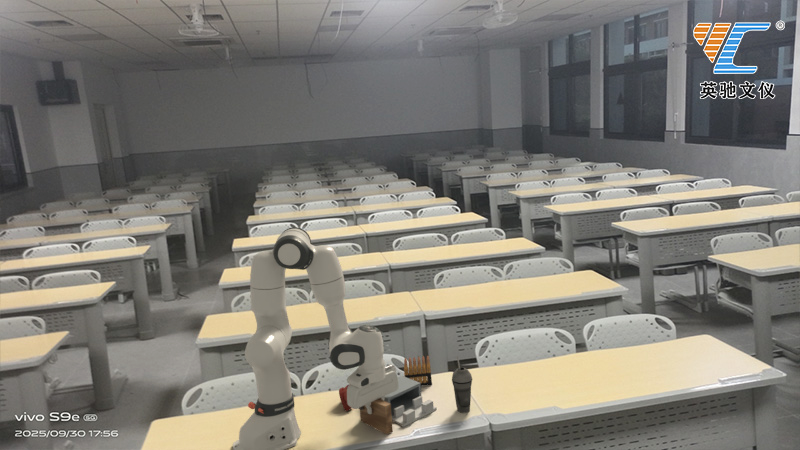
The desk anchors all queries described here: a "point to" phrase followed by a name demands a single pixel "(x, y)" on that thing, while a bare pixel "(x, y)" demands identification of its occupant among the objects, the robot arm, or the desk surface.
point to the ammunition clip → (421, 373)
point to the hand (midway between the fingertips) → (375, 411)
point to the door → (378, 416)
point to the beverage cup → (462, 388)
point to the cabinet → (408, 402)
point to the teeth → (344, 398)
